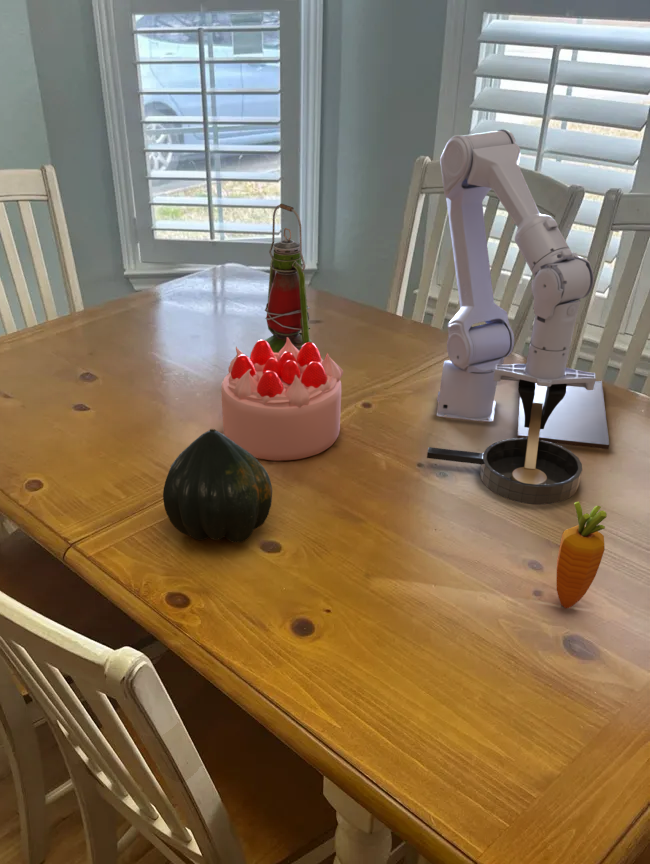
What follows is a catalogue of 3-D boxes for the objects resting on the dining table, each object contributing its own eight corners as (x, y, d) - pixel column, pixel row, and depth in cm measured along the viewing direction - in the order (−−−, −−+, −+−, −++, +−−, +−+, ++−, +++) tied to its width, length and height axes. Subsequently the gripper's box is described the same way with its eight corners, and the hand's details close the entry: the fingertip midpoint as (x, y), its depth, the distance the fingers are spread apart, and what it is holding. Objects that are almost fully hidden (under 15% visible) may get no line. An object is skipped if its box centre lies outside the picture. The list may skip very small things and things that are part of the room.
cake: (221, 409, 146) (217, 333, 138) (332, 403, 147) (335, 327, 139) (226, 465, 130) (221, 383, 122) (350, 458, 131) (354, 376, 123)
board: (516, 441, 134) (517, 435, 133) (520, 380, 152) (521, 374, 152) (607, 451, 130) (609, 445, 130) (600, 387, 149) (601, 381, 148)
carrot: (538, 596, 102) (562, 495, 94) (576, 593, 103) (604, 492, 94) (553, 622, 98) (580, 520, 90) (593, 619, 99) (624, 517, 90)
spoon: (545, 491, 121) (555, 449, 116) (510, 486, 122) (518, 445, 118) (545, 442, 132) (554, 403, 128) (513, 439, 134) (521, 399, 129)
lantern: (330, 370, 158) (335, 208, 141) (285, 384, 154) (285, 218, 136) (289, 347, 168) (289, 192, 150) (245, 359, 164) (240, 202, 146)
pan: (476, 499, 120) (479, 479, 118) (482, 452, 131) (485, 433, 129) (578, 512, 117) (583, 492, 115) (576, 463, 128) (580, 443, 126)
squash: (222, 547, 104) (258, 434, 104) (130, 518, 111) (164, 413, 111) (268, 562, 116) (300, 462, 117) (183, 535, 123) (213, 441, 124)
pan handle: (426, 458, 126) (427, 452, 125) (428, 452, 127) (428, 446, 127) (482, 464, 124) (483, 459, 123) (483, 458, 125) (484, 453, 125)
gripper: (498, 349, 120) (485, 432, 128) (603, 358, 116) (583, 442, 124) (500, 331, 125) (487, 411, 133) (601, 339, 121) (582, 421, 129)
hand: (533, 425), depth 129 cm, fingers closed on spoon
